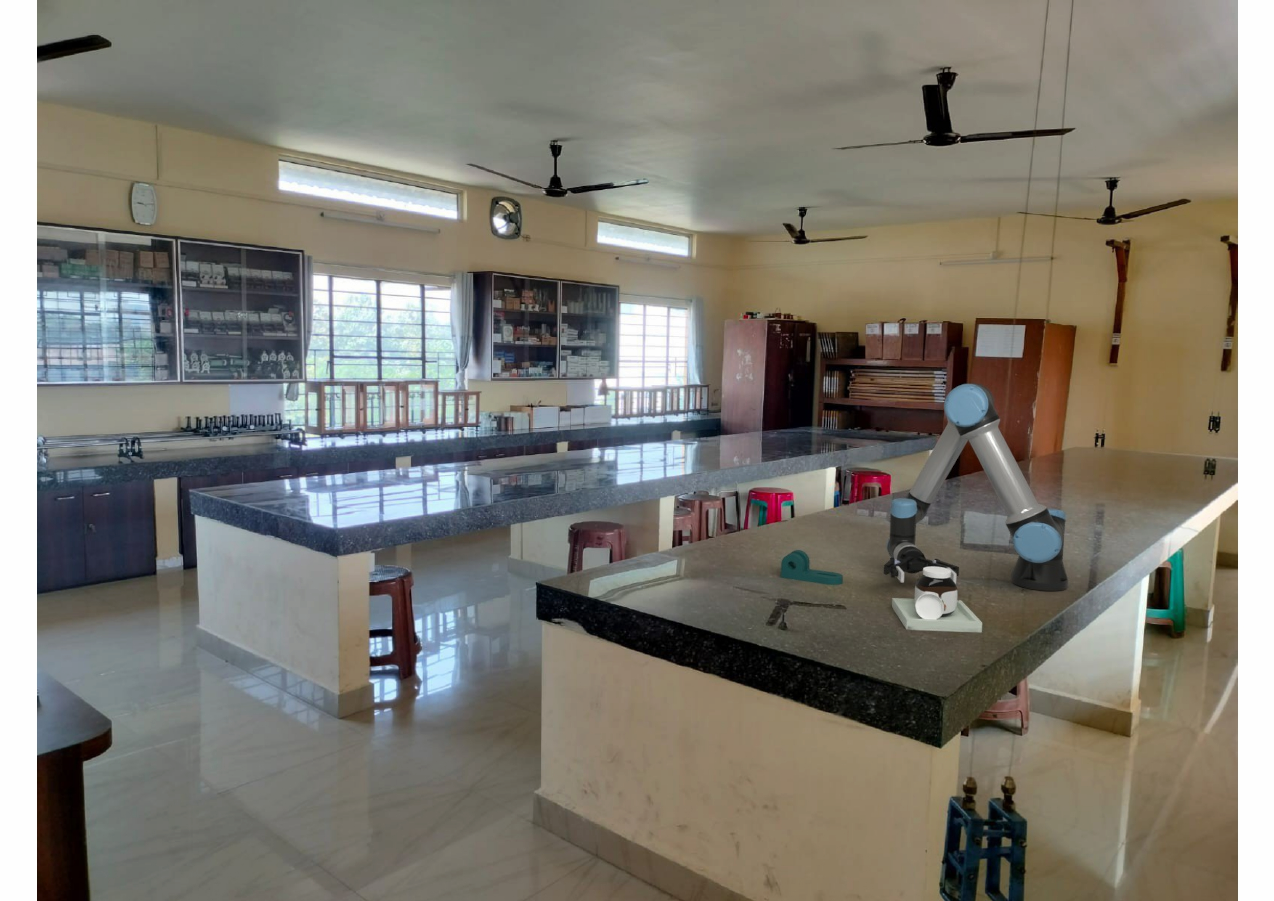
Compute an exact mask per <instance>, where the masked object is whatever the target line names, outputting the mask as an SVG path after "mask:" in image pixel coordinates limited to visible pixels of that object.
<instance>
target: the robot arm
mask: <svg viewBox="0 0 1274 901" xmlns="http://www.w3.org/2000/svg"><path fill="white" fill-rule="evenodd" d="M994 398H995V397H994V396H993V394H992V392H991V390H990V389H989V388H988V387H986V386H984V384H981V383H976V382H975V383H973V382H972V383H971V382H970V383H963V384H961V385H958V386H956V387H955V388H954V387H953V389H952V390H951V391H949V393H948V394H947V395H946V397H945V399H944V402H943V403H944V404H943V410H944V415H945V416H946V420H947V423H946V424H947V425H946V426H945V428H944V430H943V431H942V433H941V435H940V436H939V438H938V440H937V442H936V444H935V446H934V447H933V449H932V451H931V453H930V454H929V456H928V458H927V459H926V462H925V463H924V465H923V467H922V469H921V470H920V472H919V473H918V475H917V477H916V479H915V481H914V483H913V485H912V486H911V488H910V490H909V492H908V493H907V495H906V497H905V498H904V497H903V498H900V497H899V498H894V499H892V500H891V503H890V509H889V513H890V516H889V517H890V519H889V520H890V523H889V539H888V540H887V541H886V545H885V546H886V551H887V553H888V555H889V556H890V557H889V560H888V561H887V562H886V563H884V565H883V575H888V574H890V578H893V579H894V578H897V579H898V581H899V583H904V582H905V573H907V574H917V573H919V572H923V568H924V567H930V566H935V567H943V568H947V569H949V570H951V577H950V578H951V579H952V580H953V581H954V583H955V584H956V585H957V577H959V576H960V574H959V573H960V567H959V566H958V565H955V564H951V563H948V562H945V561H944V560H943V561H942V560H941V559H939V558H934V559H933V561H932V560H931V559H927V558H926V556H925V554H924V553H923V551H921V550H920V549H919V548H918V547H917V546H916V536H917V534H916V528H917V524H918V523H919V522H921V521H922V520H923V519H925V517H926V515H927V513H928V510H929V508H930V507H931V504H932V503H933V501H934V499H935V498H936V496H937V494H938V493H939V491H940V489H941V487H942V485H943V483H944V482H945V480H946V479H947V477H948V476H949V474H950V472H951V471H952V468H953V466H954V465H955V464H956V461H957V459H959V456H960V455H961V454H962V451H963V450H964V449H965V446H966V444H967V443H968V442H969V444H970V446H971V448H972V449H973V451H974V454H975V455H976V457H977V458H978V461H979V463H980V465H981V467H982V469H983V471H984V473H985V474H986V477H987V479H988V480H989V483H990V484H991V486H992V488H993V490H994V493H995V494H996V496H997V497H998V500H999V501H1000V503H1001V506H1002V508H1003V509H1004V512H1005V513H1006V515H1007V516H1006V519H1005V522H1004V523H1005V525H1006V527H1007V528H1006V529H1007V530H1008V531H1009V534H1010V536H1011V537H1012V544H1013V548H1014V549H1015V552H1016V553H1017V554H1018V558H1017V561H1016V563H1015V565H1014V567H1013V570H1012V572H1011V577H1010V578H1011V579H1010V581H1011V582H1012V584H1014V585H1015V586H1019V587H1021V588H1025V589H1030V590H1036V591H1044V592H1057V591H1058V592H1061V591H1064V590H1067V589H1068V587H1069V579H1068V576H1067V572H1066V568H1065V565H1064V562H1063V561H1064V560H1063V558H1064V547H1065V545H1064V543H1065V531H1066V530H1065V528H1066V522H1067V519H1066V513H1065V511H1064V510H1062V509H1056V508H1048V507H1047V506H1046V505H1043V504H1041V503H1038V500H1037V499H1036V497H1035V495H1034V493H1033V491H1032V489H1031V488H1030V485H1029V483H1028V482H1027V480H1026V478H1025V476H1024V475H1023V471H1022V470H1021V468H1020V467H1019V465H1018V462H1017V461H1016V459H1015V457H1014V455H1013V453H1012V451H1011V449H1010V447H1009V446H1008V444H1007V442H1006V440H1005V438H1004V436H1003V435H1002V432H1001V431H1000V430H1001V429H1000V428H999V425H1000V422H1001V417H1000V416H999V414H998V412H997V410H996V408H995V407H994V406H995V399H994Z"/></svg>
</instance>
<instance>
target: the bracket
mask: <svg viewBox="0 0 1274 901" xmlns="http://www.w3.org/2000/svg"><path fill="white" fill-rule="evenodd" d="M810 561H811V560H810V556H808V554H807V552H805V551H804V550H801V549H795V550H793V551H791V552H790V553H788V554H786V555H785V556H784V557H783V558H782V559H781V564H780V566H781V567H780V578H781V579H787V580H793V579H794V580H795V581H801V582H808V583H814V584H821V585H827V586H828V585H829V586H839V585H842V584H843V582H844V580H843V577H844V576H843V574H842V573H839V572H832V571H827V570H820V569H819V570H818V569H813V568H811V567H810V563H811V562H810Z"/></svg>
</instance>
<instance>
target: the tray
mask: <svg viewBox="0 0 1274 901" xmlns="http://www.w3.org/2000/svg"><path fill="white" fill-rule="evenodd" d="M891 608H892V610H893V611H894V612H895V614H896V616H897V617H898V619H899V620H900V622H901V623H902V625H903V626H904V628H905V630H907V631H930V632H932V631H933V632H934V631H935V632H957V633H958V632H960V633H983V632H982V631H983V622H982V621H981V620H980V618H978V616H976V614H975V613H974V612H973V611H972V610H971V609H970V608H969V607H968V606H967V605H966V604H965V603H964V601H963V600H961V599H959V600H958V599H957V607H956V610H955V611H954V612H953V613H952V614H951V615H949V616H947V617H940V618H938V619H923V618H921V617H920V616H919V615H918V613H917V611H916V608H915V598H901V597H892V598H891Z"/></svg>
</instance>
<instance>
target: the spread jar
mask: <svg viewBox="0 0 1274 901" xmlns="http://www.w3.org/2000/svg"><path fill="white" fill-rule="evenodd" d="M950 577H951V570H949V569H947V568H943V567H935V566H930V567H924V568H923V571H922V575H921V576H920V577H918V579H917V580H916V581H915V586H914V599H915V608H916V611H917V613H918V615H919V616H920V617H921V618H923V619H938V618H940V617H947V616H949V615H951V614H952V613H953V612H954V611H955V610H956V607H957V600H958V586H957V583H956V584H955V583H954V581H953V580H952V579H951V578H950Z"/></svg>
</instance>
